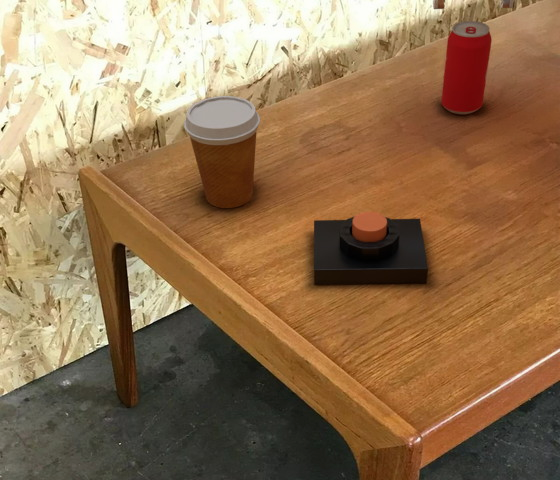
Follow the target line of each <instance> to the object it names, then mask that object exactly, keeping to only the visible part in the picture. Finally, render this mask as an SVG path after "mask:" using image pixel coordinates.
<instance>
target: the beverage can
mask: <svg viewBox="0 0 560 480" xmlns="http://www.w3.org/2000/svg"><path fill="white" fill-rule="evenodd" d="M491 48H492V35H491V32H490V27H489V25H488V24H486V23H485V22H481V21H478V20H477V21H476V20H465V21H460V22H457V23H455V24H454V25H453V26H452V30H451V31H450V33H449V34H448V37H447V43H446V52H445V53H446V54H445V60H444V72H443V81H442V91H441V102H440V103H441V105H442V106H443V108H444V109H446V110H447V111H448V112H450V113H451V114H456V115H468V114H472V113H474V112H476V111H479V109H481V108H482V106H483V104H484V97H485V91H486V90H485V89H486V84H487V76H488V70H489V69H488V68H489V61H490V55H491Z"/></svg>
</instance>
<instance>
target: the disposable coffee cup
mask: <svg viewBox="0 0 560 480" xmlns="http://www.w3.org/2000/svg"><path fill="white" fill-rule="evenodd" d="M183 122H184V123H183V127H184V130H185V132H186V134H187V135H188V136H189V139H190V142H191V147H192V151H193V154H194V157H195V161H196V165H197V169H198V173H199V176H200V180H201V184H202V187H203V191H204V194H205V199H206V201H207V203H209V204H210V205H212V206H214V207H216V208H221V209H233V208H239V207H241V206H244V205H246V204H247V203H248V202H250V201H251V200H252V198H253V196H254V193H253V192H254V176H255V164H256V163H255V161H256V147H257V146H256V145H257V131H258V130H259V129H258V128H259V126H260V123H261V118H260V115H259V112H257V110H256V107H255V105H254V104H253V103H252V101H250V100H248V99H246V98H243V97H239V96H233V95H219V96H212V97H208V98H204V99H201V100H199V101H196V102H194V103H193V104H192V105H191V106H189V108H188V109H187V112H186V117H185V119H184V121H183Z"/></svg>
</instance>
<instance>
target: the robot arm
mask: <svg viewBox="0 0 560 480" xmlns="http://www.w3.org/2000/svg"><path fill="white" fill-rule="evenodd" d="M499 2H500V3H499V5H500V8H501V9H513V7H514V2H515V0H500V1H499ZM445 3H446V0H432V10H444V9H445V7H446V5H445Z"/></svg>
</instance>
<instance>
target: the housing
mask: <svg viewBox="0 0 560 480" xmlns="http://www.w3.org/2000/svg"><path fill="white" fill-rule="evenodd" d="M355 216H356V215H354V216H352V217H348V218H347V219H318V220H315V219H314V220H313V285H314V286H316V285H317V286H318V285H320V286H321V285H322V286H323V285H329V286H330V285H395V284H396V285H398V284H399V285H400V284H402V285H403V284H405V285H406V284H407V285H408V284H409V285H410V284H427V282H428V274H429V273H428V272H429V264H428V260H427V252H426V247H425V242H424V235H423V229H422V223H421V218H390V217H387V216H384V217H385V218H386V219H387V232H386V237H385V238H384V239H383V240H380V241H377V242H362V241H359V240H356V239H355V238H354V237H353V235H352V221H353V218H354V217H355Z"/></svg>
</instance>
